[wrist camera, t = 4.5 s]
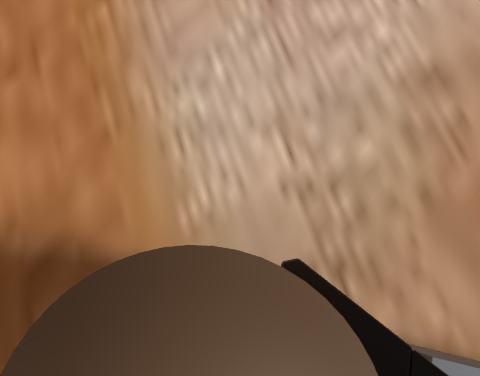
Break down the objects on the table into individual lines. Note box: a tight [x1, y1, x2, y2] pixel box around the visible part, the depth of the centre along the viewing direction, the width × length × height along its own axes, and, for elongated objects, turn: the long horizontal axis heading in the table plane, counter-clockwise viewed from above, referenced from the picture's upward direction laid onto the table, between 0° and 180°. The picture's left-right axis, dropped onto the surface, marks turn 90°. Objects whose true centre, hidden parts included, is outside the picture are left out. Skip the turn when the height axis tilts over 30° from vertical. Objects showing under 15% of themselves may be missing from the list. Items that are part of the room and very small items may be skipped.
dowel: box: [0, 245, 378, 376], centre depth 10 cm, size 4×4×12 cm
